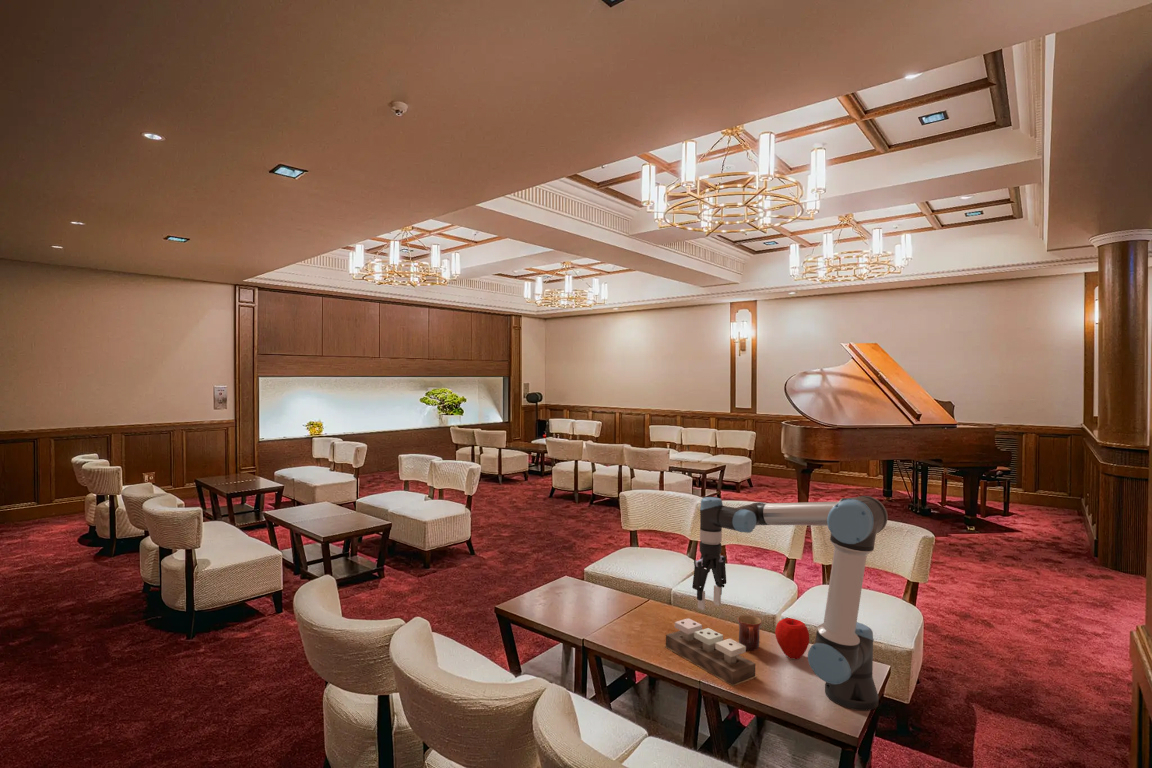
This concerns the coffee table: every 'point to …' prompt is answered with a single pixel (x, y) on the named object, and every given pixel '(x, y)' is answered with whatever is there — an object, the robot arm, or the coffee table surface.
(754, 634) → the mug
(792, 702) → the coffee table surface
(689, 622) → the tile
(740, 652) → the tile
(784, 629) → the apple
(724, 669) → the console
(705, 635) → the three-pip tile
